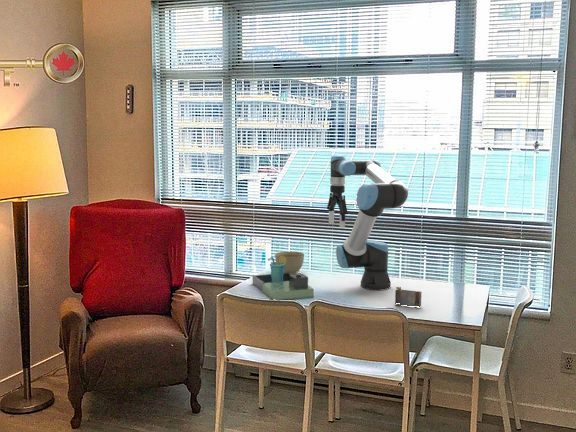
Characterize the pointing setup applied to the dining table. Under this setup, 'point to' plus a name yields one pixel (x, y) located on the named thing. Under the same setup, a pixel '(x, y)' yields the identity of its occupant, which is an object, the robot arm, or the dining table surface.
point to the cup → (277, 269)
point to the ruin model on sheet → (407, 297)
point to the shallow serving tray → (284, 286)
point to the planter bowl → (291, 261)
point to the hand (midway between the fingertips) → (336, 225)
